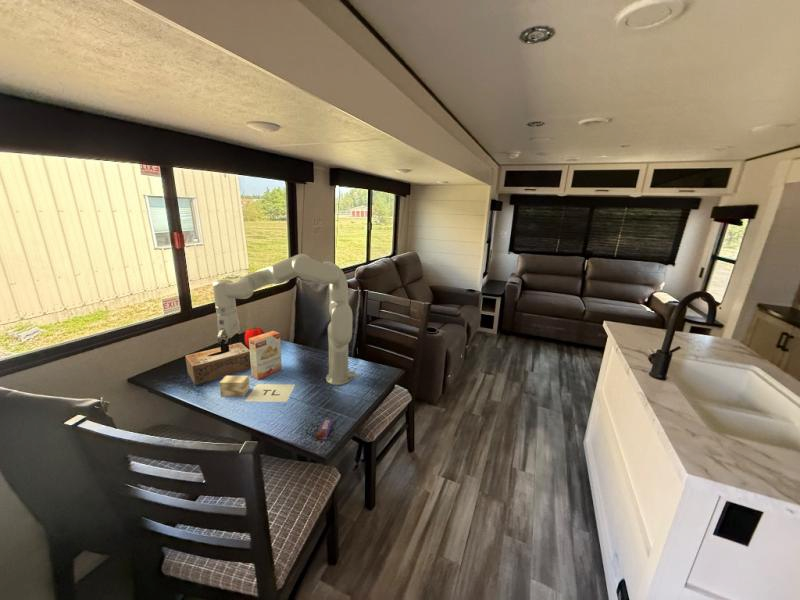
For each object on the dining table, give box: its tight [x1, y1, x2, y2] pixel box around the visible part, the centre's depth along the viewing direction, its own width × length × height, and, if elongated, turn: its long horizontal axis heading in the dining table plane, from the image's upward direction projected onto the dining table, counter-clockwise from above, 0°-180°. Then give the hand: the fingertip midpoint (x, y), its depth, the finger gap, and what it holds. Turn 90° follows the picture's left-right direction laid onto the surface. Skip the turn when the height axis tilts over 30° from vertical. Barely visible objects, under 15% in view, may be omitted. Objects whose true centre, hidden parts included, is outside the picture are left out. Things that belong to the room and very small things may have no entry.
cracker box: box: [248, 330, 282, 380], centre depth 154 cm, size 14×6×21 cm, turn 148°
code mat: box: [244, 383, 296, 403], centre depth 140 cm, size 18×14×1 cm
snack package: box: [313, 418, 336, 441], centre depth 118 cm, size 12×2×5 cm
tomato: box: [244, 326, 265, 348], centre depth 182 cm, size 12×12×13 cm
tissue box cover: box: [184, 342, 251, 386], centre depth 155 cm, size 26×14×10 cm, turn 135°
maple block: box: [219, 375, 250, 397], centre depth 138 cm, size 10×6×7 cm, turn 94°
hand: (230, 346), depth 133 cm, fingers open, 9 cm apart
